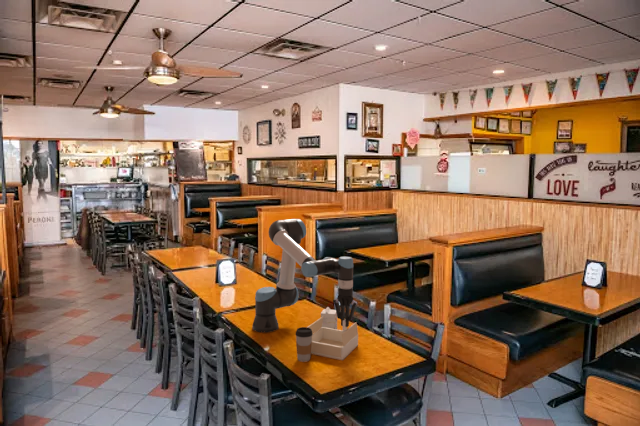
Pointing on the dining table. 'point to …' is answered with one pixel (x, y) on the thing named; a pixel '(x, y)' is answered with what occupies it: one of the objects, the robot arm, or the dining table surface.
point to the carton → (331, 344)
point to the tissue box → (329, 318)
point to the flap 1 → (316, 325)
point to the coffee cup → (303, 343)
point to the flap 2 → (349, 334)
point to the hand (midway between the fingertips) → (344, 332)
